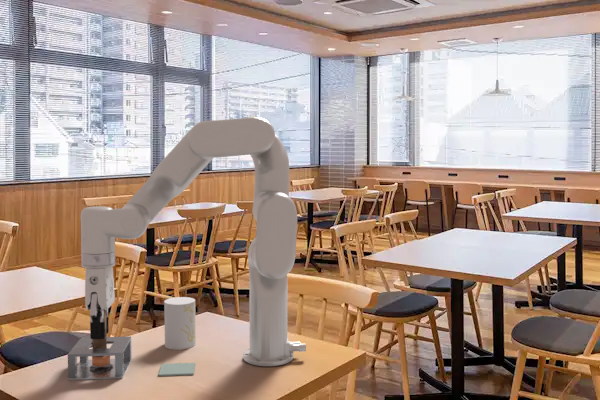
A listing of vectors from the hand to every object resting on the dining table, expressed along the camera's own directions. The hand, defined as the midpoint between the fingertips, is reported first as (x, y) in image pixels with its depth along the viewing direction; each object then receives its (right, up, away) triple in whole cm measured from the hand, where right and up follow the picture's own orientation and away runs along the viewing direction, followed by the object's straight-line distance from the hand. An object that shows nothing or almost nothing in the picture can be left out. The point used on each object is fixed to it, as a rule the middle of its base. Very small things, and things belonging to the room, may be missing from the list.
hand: (99, 335), depth 141 cm
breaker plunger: (0, -7, +1) cm, 7 cm away
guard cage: (0, -8, +1) cm, 8 cm away
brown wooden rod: (0, -5, 0) cm, 5 cm away
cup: (+15, -7, +19) cm, 26 cm away
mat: (+18, -8, +1) cm, 20 cm away
